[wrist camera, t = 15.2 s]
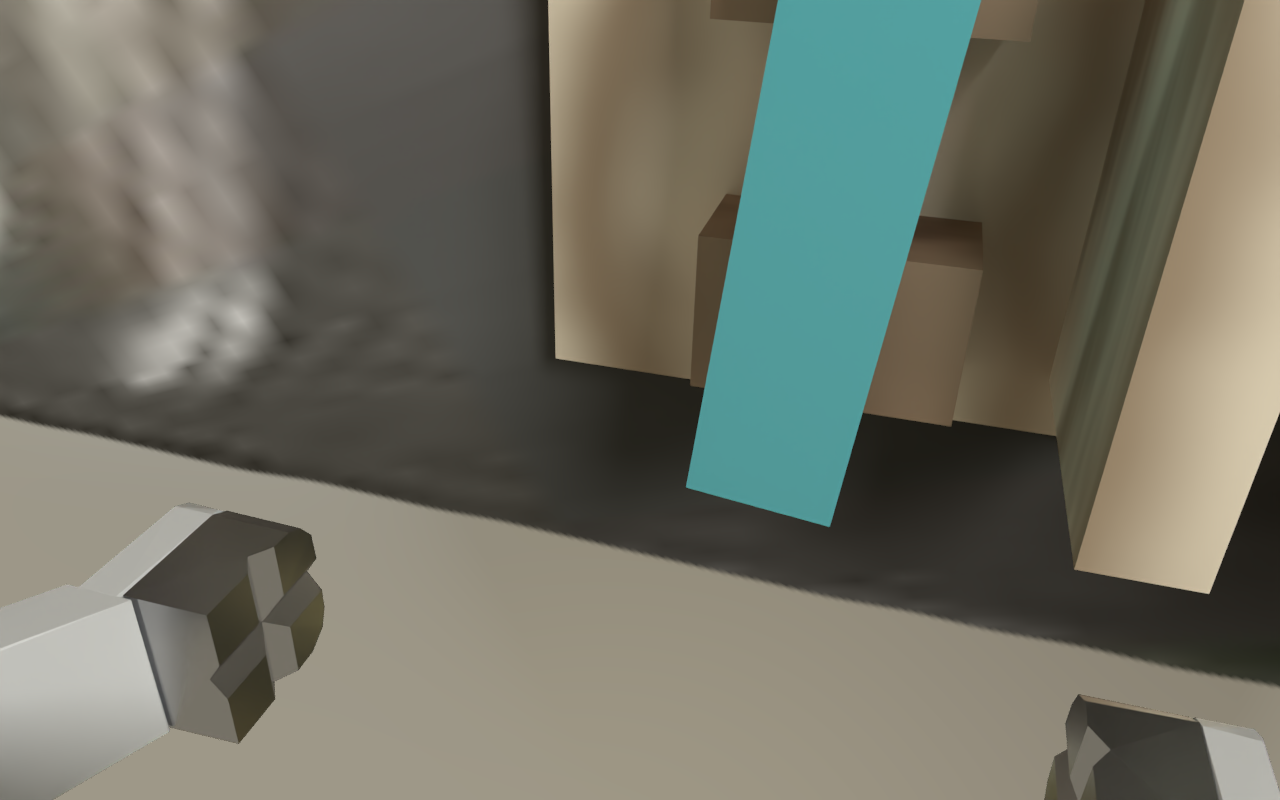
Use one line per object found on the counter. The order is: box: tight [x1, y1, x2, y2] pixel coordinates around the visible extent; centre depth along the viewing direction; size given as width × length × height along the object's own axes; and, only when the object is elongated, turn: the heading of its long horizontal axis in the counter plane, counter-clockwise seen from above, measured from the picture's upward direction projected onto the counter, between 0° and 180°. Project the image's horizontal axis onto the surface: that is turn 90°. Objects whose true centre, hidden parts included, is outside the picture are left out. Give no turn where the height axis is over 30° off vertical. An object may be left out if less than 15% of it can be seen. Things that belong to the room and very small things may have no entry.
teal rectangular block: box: [686, 0, 981, 527], centre depth 26 cm, size 4×16×5 cm, turn 172°
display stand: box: [548, 0, 1280, 594], centre depth 27 cm, size 20×20×12 cm
